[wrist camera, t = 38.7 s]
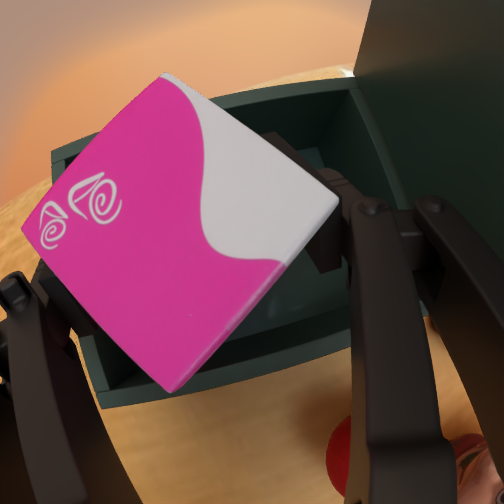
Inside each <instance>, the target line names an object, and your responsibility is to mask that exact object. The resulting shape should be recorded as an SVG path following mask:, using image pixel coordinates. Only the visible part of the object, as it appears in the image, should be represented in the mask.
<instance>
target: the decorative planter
mask: <svg viewBox="0 0 504 504" xmlns="http://www.w3.org/2000/svg"><path fill="white" fill-rule="evenodd" d="M451 444H452V446H453V449H454V451H455V458H456V467H457V504H504V485H503V483H502V481H501V479H500V477H499V475H498V473H497V471H496V468H495V465H494V463H493V460H492V458H491V455H490V452H489V449H488V446H487V443H486V440H485V438H484V437H483V436H482V435H480V434H466V435H463V436H460V437H458V438H457V439H455V440H453V441H451Z"/></svg>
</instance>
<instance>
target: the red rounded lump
mask: <svg viewBox="0 0 504 504" xmlns="http://www.w3.org/2000/svg"><path fill="white" fill-rule="evenodd" d="M350 442H351V416H349V417H347V418H346V419H345V420H344V421H342V422H341V423H340V424H339V425H338V426H337V428H336V429H335V430H334V432H333V434H332V436H331V438H330V440H329V443H328V447H327V451H326V467H327V472H328V476H329V478H330V480H331V482H332V484H333V486H334V487H335V489H336V490H337V491H338V492H339V493H340V494H341V495H342V496H343V497H345V491H346V485H347V480H348V474H349V462H350Z"/></svg>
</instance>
